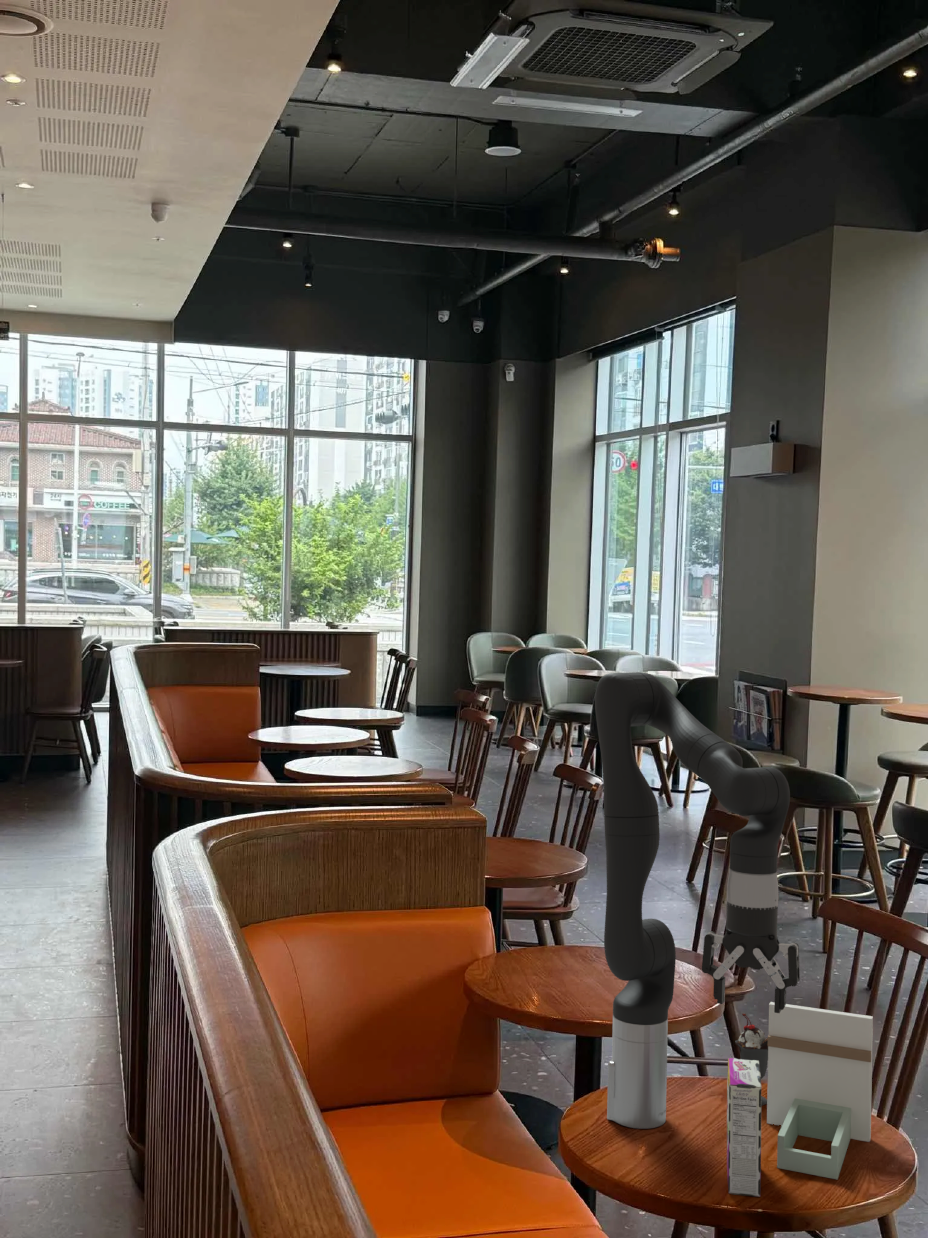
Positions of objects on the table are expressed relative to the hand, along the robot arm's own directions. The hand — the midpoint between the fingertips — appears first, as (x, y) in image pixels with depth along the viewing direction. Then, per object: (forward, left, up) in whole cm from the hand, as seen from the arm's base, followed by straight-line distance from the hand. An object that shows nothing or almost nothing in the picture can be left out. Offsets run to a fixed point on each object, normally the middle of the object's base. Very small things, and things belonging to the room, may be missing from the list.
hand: (749, 1007), depth 184 cm
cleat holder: (+7, +15, -26) cm, 31 cm away
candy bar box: (0, 0, -26) cm, 26 cm away
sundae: (-5, +32, -26) cm, 41 cm away
